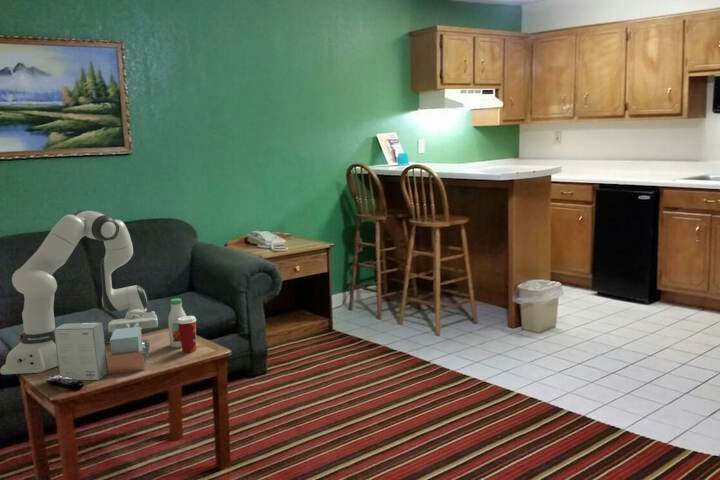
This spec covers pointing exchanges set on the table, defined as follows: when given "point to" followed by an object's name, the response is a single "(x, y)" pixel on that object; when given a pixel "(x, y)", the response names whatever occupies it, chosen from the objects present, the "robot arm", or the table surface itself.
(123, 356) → the roller conveyor
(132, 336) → the light blue box
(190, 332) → the paper cup
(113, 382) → the table surface
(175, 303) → the milk bottle
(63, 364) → the hard drive box
